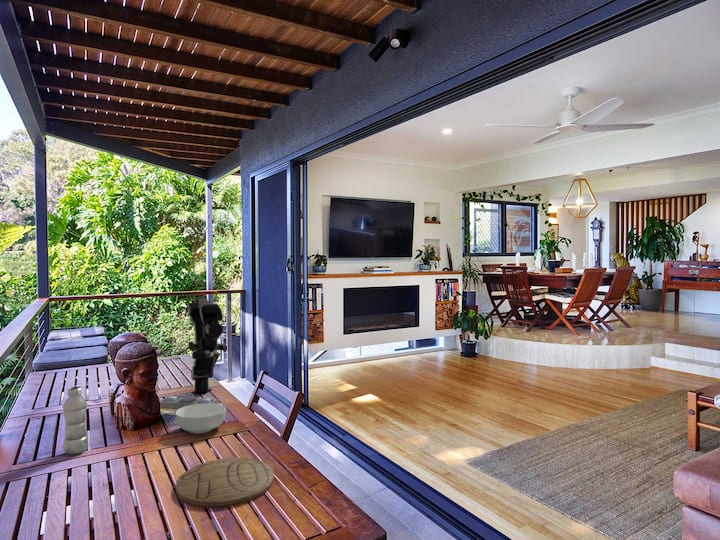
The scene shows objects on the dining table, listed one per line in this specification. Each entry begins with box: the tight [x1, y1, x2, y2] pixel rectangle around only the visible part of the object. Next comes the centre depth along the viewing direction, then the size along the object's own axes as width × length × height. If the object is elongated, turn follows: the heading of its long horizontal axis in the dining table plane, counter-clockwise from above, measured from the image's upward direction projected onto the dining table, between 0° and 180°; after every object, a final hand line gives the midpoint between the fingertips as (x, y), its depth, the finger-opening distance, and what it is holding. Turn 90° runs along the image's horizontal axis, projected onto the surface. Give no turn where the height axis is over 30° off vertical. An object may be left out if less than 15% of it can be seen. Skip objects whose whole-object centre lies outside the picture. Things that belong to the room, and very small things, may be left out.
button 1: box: [164, 395, 178, 402], centre depth 187 cm, size 4×4×3 cm
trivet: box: [175, 457, 275, 509], centre depth 124 cm, size 25×25×2 cm
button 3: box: [199, 396, 212, 404], centre depth 185 cm, size 4×4×3 cm
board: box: [158, 396, 224, 416], centre depth 185 cm, size 14×24×3 cm, turn 79°
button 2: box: [181, 392, 195, 403], centre depth 186 cm, size 4×4×3 cm
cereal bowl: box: [174, 403, 227, 435], centre depth 163 cm, size 17×17×7 cm
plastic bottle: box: [62, 386, 89, 455], centre depth 144 cm, size 6×7×20 cm
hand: (210, 371), depth 194 cm, fingers closed
